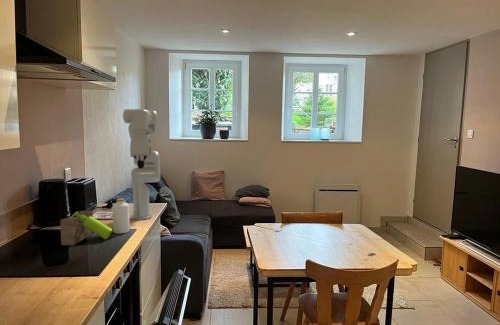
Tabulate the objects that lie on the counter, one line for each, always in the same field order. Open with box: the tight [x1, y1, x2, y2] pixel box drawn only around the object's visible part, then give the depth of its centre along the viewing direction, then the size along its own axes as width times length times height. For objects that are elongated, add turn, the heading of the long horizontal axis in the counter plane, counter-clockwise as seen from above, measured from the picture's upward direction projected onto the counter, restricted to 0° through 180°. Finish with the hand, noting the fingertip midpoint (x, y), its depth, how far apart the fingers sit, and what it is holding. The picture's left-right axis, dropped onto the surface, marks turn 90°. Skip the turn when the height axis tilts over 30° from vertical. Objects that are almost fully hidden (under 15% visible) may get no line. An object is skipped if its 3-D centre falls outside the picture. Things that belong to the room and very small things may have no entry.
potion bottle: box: [112, 198, 130, 235], centre depth 193 cm, size 8×8×18 cm
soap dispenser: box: [70, 210, 113, 240], centre depth 181 cm, size 6×7×20 cm
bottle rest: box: [59, 210, 94, 246], centre depth 181 cm, size 20×6×12 cm, turn 178°
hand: (141, 168), depth 188 cm, fingers closed
